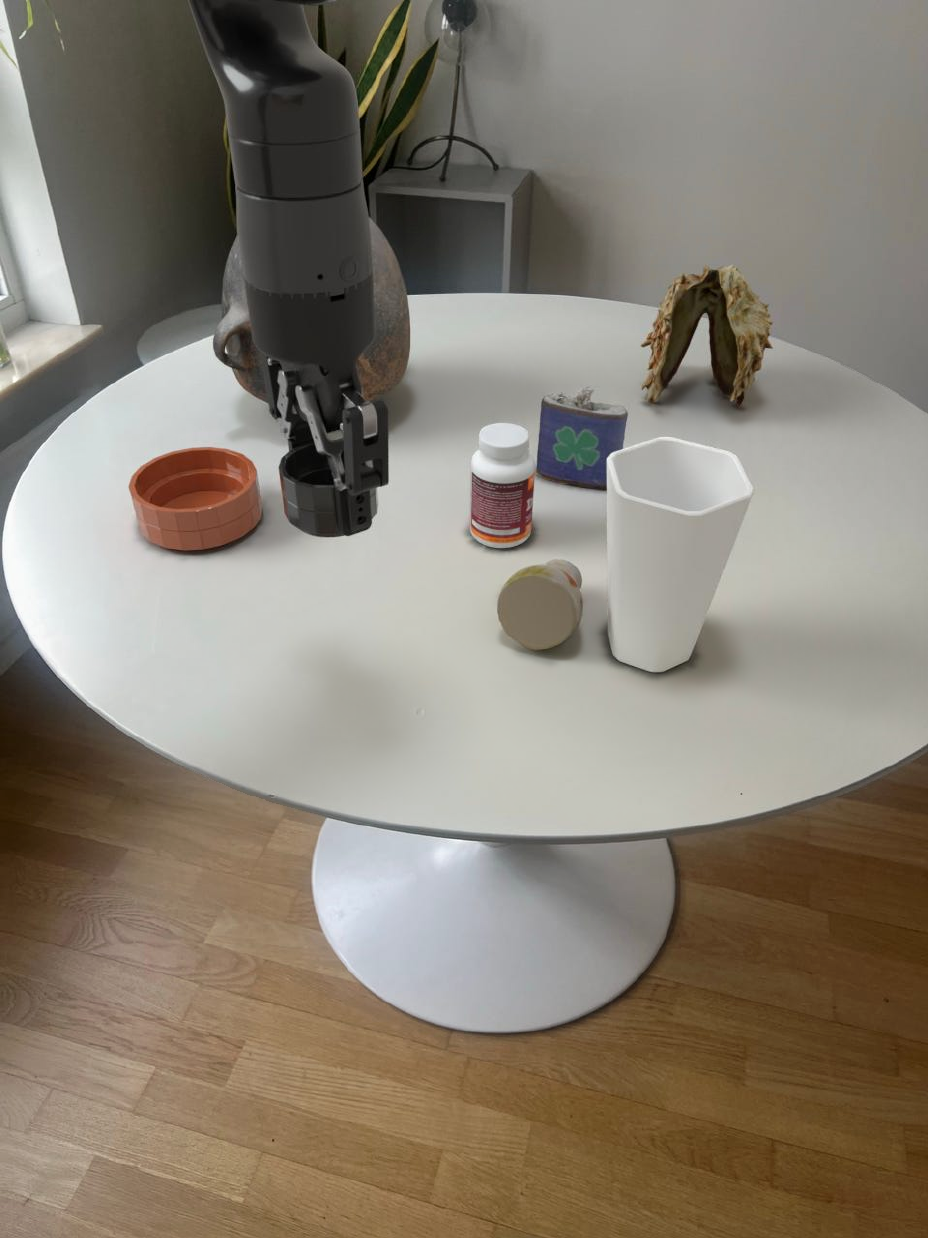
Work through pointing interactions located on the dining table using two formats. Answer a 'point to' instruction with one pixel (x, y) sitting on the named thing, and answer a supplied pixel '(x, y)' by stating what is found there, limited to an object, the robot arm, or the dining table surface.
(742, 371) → the seashell
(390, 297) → the jug
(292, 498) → the black bowl
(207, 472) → the terracotta bowl
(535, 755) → the dining table surface
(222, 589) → the dining table surface
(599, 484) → the flask
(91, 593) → the dining table surface
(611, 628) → the cup
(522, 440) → the pill bottle
